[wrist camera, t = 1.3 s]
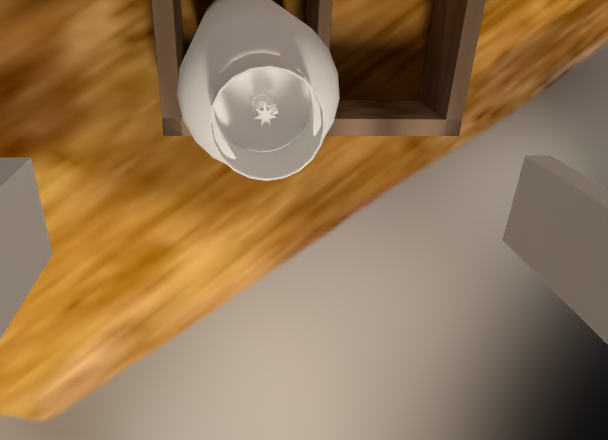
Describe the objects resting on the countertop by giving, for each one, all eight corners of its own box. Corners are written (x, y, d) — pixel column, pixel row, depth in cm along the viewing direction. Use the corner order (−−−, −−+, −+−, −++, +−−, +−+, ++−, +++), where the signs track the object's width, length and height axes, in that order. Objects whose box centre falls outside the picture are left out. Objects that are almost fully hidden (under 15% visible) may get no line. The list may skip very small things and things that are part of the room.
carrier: (171, 113, 46) (163, 135, 40) (158, -55, 40) (146, -59, 34) (430, 115, 50) (458, 135, 44) (455, -38, 44) (493, -39, 38)
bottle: (298, 69, 46) (381, 186, 22) (216, 93, 46) (206, 237, 21) (275, -23, 42) (343, -9, 18) (186, 3, 42) (130, 53, 18)
